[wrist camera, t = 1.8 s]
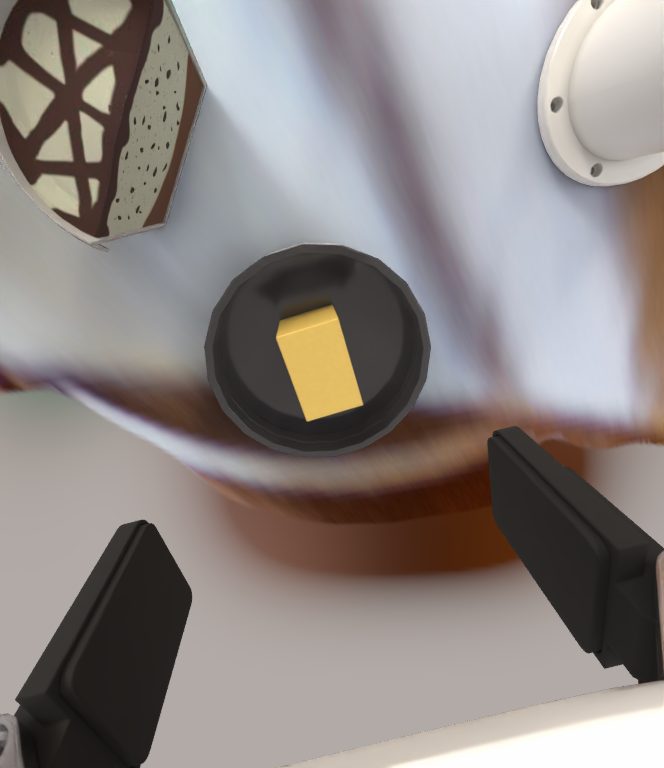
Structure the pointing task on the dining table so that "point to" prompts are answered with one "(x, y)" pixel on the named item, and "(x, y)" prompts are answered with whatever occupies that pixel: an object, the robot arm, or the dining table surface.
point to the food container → (97, 110)
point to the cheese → (318, 362)
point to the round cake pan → (361, 334)
